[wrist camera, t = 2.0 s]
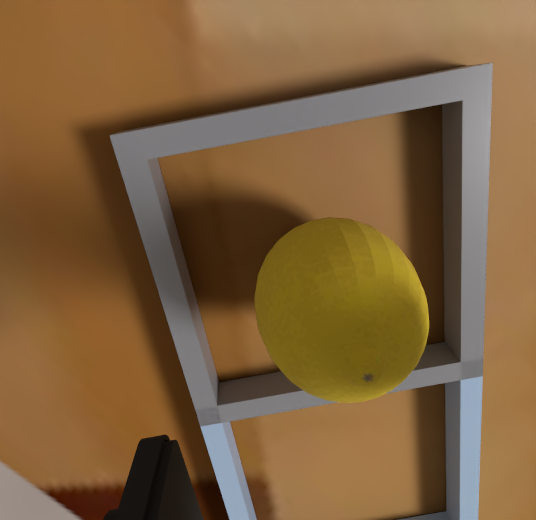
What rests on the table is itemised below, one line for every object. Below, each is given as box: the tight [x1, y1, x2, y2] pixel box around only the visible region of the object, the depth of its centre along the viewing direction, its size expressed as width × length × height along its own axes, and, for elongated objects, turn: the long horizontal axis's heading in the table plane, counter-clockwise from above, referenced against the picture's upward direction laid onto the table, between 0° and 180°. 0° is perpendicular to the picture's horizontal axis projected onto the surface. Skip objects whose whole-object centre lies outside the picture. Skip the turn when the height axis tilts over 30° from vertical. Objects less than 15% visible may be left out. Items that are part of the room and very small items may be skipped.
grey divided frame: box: [110, 63, 493, 520], centre depth 19 cm, size 25×13×2 cm, turn 10°
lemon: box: [254, 217, 429, 403], centre depth 14 cm, size 6×6×8 cm
